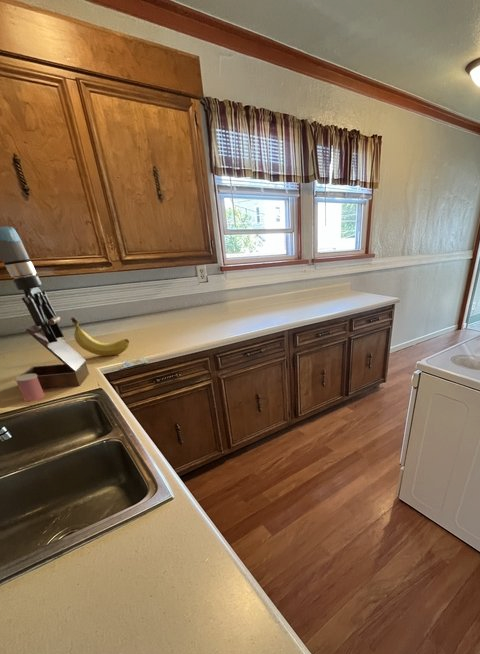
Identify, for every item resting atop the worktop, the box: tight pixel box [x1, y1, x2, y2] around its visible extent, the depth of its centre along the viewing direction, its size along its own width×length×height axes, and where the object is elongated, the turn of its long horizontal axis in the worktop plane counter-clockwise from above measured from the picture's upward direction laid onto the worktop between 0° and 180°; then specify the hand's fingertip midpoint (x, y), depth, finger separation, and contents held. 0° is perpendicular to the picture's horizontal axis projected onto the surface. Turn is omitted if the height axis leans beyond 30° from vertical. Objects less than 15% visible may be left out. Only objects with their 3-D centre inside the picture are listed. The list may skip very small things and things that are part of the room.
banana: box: [70, 316, 130, 357], centre depth 160 cm, size 23×6×20 cm, turn 111°
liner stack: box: [14, 374, 45, 402], centre depth 118 cm, size 6×6×9 cm
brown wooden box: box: [21, 361, 90, 391], centre depth 131 cm, size 20×13×6 cm, turn 105°
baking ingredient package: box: [119, 357, 149, 370], centre depth 152 cm, size 9×1×15 cm
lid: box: [25, 315, 87, 372], centre depth 126 cm, size 20×13×8 cm
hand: (56, 339), depth 125 cm, fingers closed on lid, 6 cm apart
